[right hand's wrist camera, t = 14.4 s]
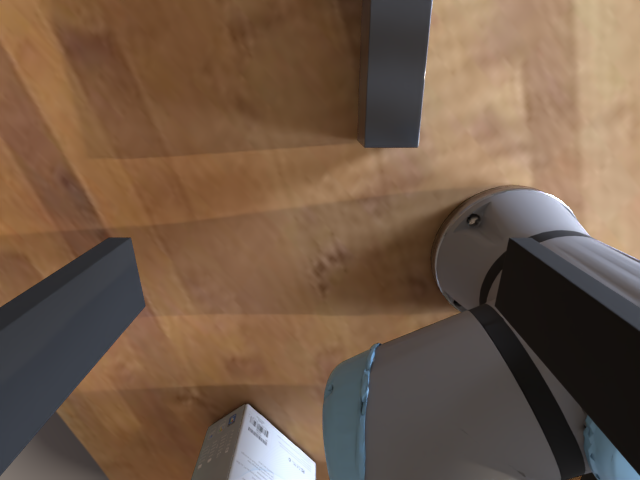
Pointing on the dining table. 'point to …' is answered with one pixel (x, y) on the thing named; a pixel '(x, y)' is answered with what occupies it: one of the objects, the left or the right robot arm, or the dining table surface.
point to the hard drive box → (250, 451)
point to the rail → (392, 71)
